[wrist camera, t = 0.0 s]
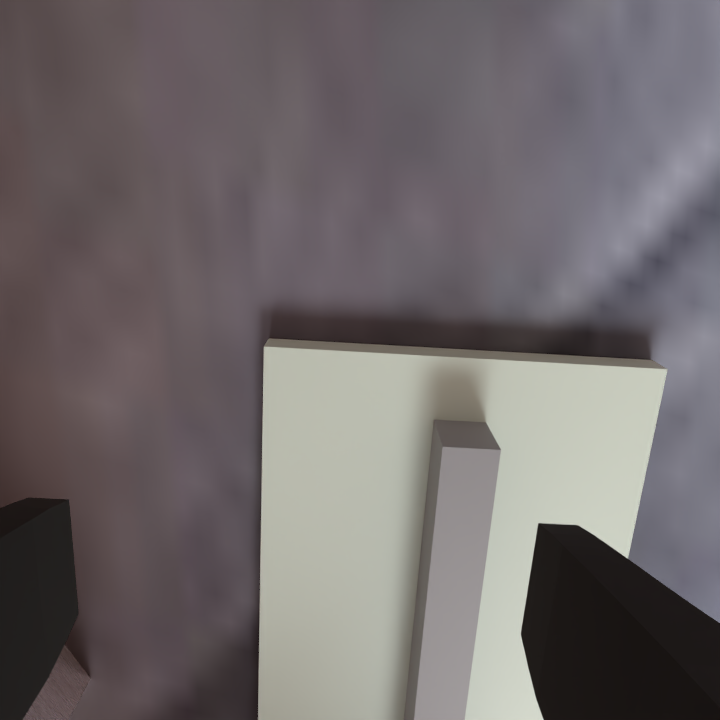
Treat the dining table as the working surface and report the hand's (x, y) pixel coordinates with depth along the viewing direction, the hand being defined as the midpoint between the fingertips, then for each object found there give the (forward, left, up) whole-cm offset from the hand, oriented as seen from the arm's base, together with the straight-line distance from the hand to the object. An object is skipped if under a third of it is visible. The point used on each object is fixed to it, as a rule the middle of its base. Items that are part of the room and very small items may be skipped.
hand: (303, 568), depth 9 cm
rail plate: (-9, -4, -10) cm, 14 cm away
